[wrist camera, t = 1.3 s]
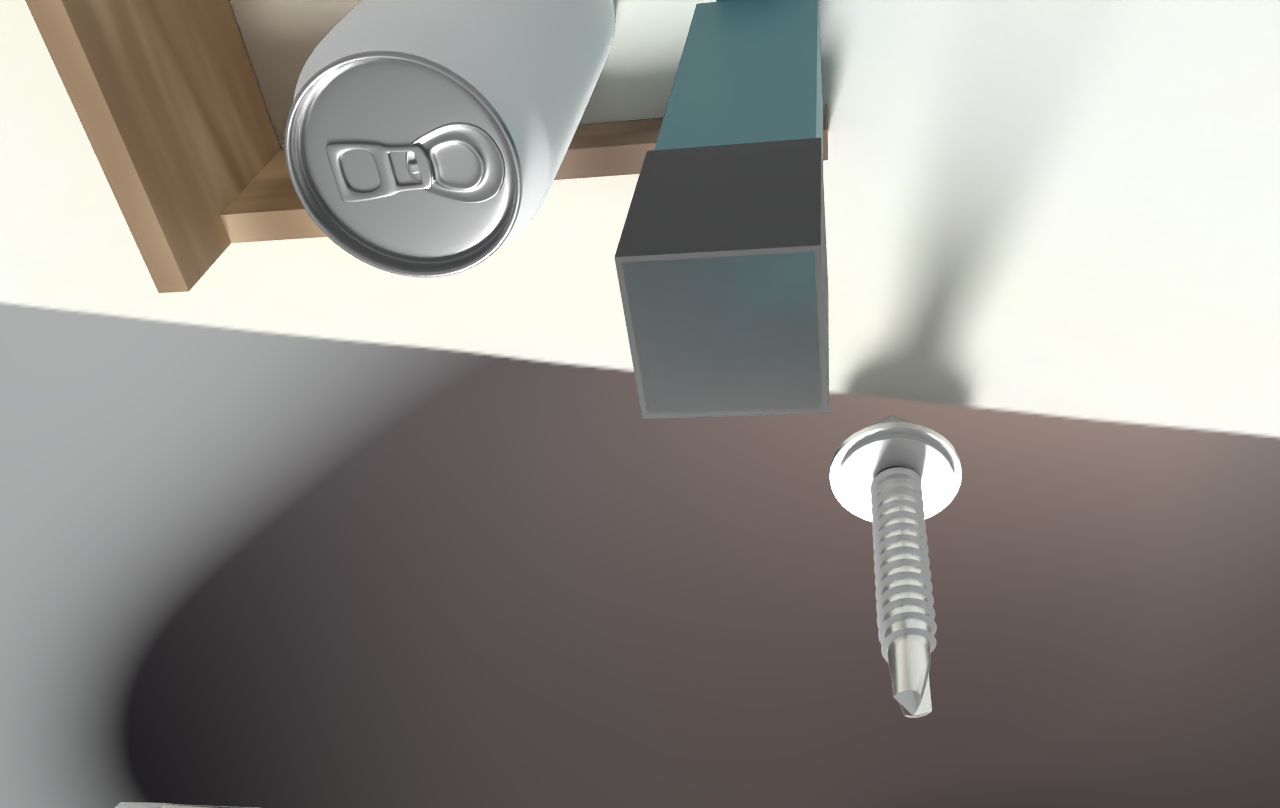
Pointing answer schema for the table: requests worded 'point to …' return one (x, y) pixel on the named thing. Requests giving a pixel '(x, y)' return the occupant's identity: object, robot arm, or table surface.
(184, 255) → the wooden box
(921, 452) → the screw
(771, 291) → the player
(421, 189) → the can
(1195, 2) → the table surface
